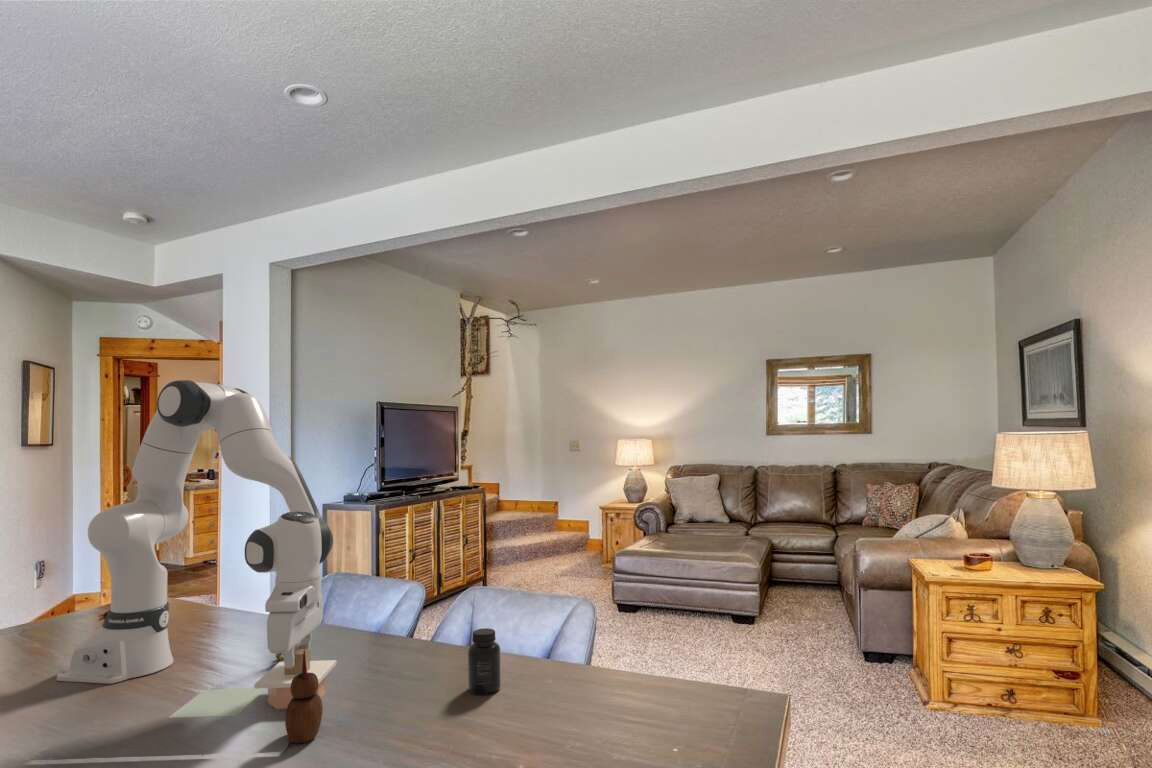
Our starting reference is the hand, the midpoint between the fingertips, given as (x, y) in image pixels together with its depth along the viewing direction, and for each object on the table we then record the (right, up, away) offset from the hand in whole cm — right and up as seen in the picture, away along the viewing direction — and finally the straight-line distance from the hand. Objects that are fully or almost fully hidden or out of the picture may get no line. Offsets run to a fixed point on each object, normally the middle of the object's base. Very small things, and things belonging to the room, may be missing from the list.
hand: (297, 660), depth 133 cm
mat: (-15, -8, -2) cm, 17 cm away
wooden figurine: (+8, -7, -17) cm, 20 cm away
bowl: (0, -8, -1) cm, 8 cm away
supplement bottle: (+38, -8, +4) cm, 39 cm away
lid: (0, -3, 0) cm, 3 cm away
